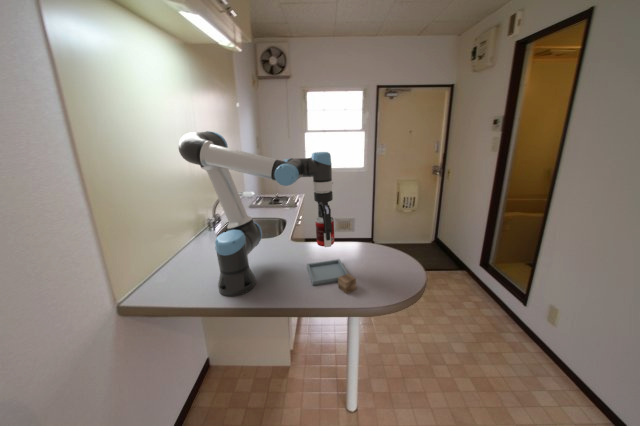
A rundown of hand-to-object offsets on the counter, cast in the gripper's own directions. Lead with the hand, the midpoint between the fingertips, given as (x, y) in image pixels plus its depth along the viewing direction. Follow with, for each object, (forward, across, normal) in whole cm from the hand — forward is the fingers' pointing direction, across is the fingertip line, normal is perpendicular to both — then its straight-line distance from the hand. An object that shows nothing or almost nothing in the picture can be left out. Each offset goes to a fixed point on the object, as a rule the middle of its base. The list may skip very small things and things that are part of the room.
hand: (325, 242), depth 119 cm
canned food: (0, 0, 0) cm, 0 cm away
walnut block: (+15, -14, -5) cm, 21 cm away
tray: (+15, 0, 0) cm, 15 cm away
